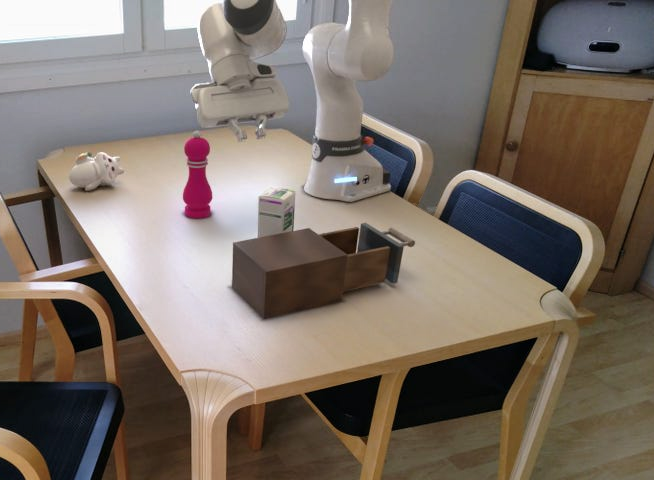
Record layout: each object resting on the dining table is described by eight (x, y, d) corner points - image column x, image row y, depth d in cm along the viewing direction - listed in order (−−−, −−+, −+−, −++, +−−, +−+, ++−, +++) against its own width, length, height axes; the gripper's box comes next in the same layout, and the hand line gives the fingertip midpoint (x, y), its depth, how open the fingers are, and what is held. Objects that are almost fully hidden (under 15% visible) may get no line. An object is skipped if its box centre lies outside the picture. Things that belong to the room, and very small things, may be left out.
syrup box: (281, 266, 141) (285, 199, 133) (255, 260, 144) (258, 194, 135) (292, 256, 145) (297, 190, 137) (267, 250, 147) (270, 185, 139)
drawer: (380, 253, 143) (386, 218, 138) (418, 278, 133) (425, 241, 129) (295, 271, 137) (298, 235, 133) (328, 298, 127) (332, 260, 123)
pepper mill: (209, 220, 162) (210, 135, 151) (180, 218, 164) (178, 134, 153) (214, 208, 168) (214, 126, 157) (186, 207, 170) (184, 126, 158)
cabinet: (305, 271, 139) (309, 227, 133) (341, 301, 128) (347, 254, 123) (231, 287, 134) (232, 242, 128) (263, 319, 123) (266, 271, 118)
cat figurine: (65, 156, 176) (118, 141, 180) (61, 164, 184) (112, 150, 188) (77, 192, 177) (130, 176, 181) (73, 198, 185) (123, 183, 189)
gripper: (192, 76, 137) (211, 137, 135) (281, 66, 143) (301, 124, 141) (184, 94, 143) (202, 153, 141) (270, 84, 149) (289, 140, 147)
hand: (252, 138), depth 141 cm, fingers open, 3 cm apart
